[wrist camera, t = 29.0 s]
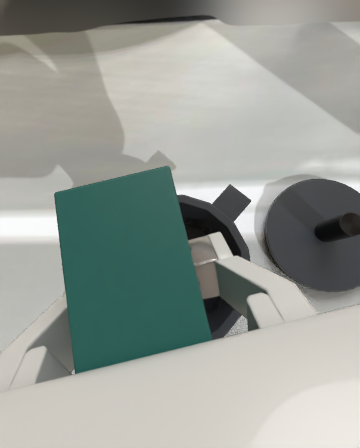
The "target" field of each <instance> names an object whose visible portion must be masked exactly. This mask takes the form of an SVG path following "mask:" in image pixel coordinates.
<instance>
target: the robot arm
mask: <svg viewBox="0 0 360 448" xmlns="http://www.w3.org/2000/svg"><path fill="white" fill-rule="evenodd" d="M188 242H189V247H190V251H191V255H192V259H193V263H194V267H195V271H196V275H197V279H198V283H199V287H200V291H201V295H202V299H207V298H212V297H216V296H220V297H221V298H222V299H224V300H225V301H226V302H227V303H228V304H230V305H231V306H232V307H233V308H234V309H236V310H237V311H238V312H239V313H240V314H242V315H243V316H244V317H245V318H246V319H247V320H248V332H243V333H239V334H235V335H231V336H227V337H223V338H219V339H215V340H211V341H207V342H203V343H199V344H195V345H191V346H187V347H183V348H179V349H175V350H171V351H167V352H163V353H158V354H154V355H150V356H146V357H142V358H138V359H134V360H130V361H126V362H122V363H118V364H114V365H110V366H106V367H101V368H97V369H93V370H89V371H85V372H81V373H77V374H73V375H72V374H71V372H72V371H73V369H74V361H73V352H72V344H71V335H70V326H69V318H68V309H67V300H66V292H65V291H64V294H63V296H62V298H60V299H57V300H56V301H55V302H54V303H53V304H52V305H51V306H50V307H49V308H48V309H47V310H46V311H45V312H44V313H42V314H41V315H40V316H39V317H38V318H37V319H36V320H35V321H34V322H33V323H32V324H31V325H30V326H29V327H28V328H26V329H25V330H24V331H23V332H22V333H21V334H20V335H19V336H18V337H17V338H16V339H15V340H14V341H13V342H12V343H11V344H9V345H8V346H7V347H6V348H5V349H4V350H3V351H2V352H1V353H0V448H360V304H357V305H353V306H349V307H345V308H341V309H337V310H333V311H329V312H325V313H321V314H318V313H317V311H316V310H315V309H314V307H313V306H312V305H311V304H310V302H309V301H308V300H307V298H306V297H305V296H304V294H303V293H302V292H301V291H300V289H299V288H298V287H297V285H296V284H295V283H293V282H291V281H289V280H287V279H285V278H283V277H281V276H279V275H277V274H275V273H272V272H270V271H268V270H266V269H264V268H262V267H260V266H258V265H256V264H254V263H252V262H250V261H248V260H245V259H243V258H241V257H239V256H233V254H232V253H231V251H230V249H229V247H228V245H227V243H226V241H225V239H224V238H223V236H222V234H221V232H216V233H213V234H209V235H207V236H203V237H199V238H195V239H191V240H188Z"/></svg>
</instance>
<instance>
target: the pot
mask: <svg viewBox="0 0 360 448" xmlns="http://www.w3.org/2000/svg"><path fill="white" fill-rule="evenodd" d="M177 198H178V202H179V206H180V210H181V214H182V218H183V222H184V226H185V230H186V234H187V238H188V240H191V239H195V238H199V237H203V236H207V235H209V234H213V233H216V232H221V234H222V236H223V238H224V239H225V241H226V243H227V245H228V247H229V249H230V251H231V253H232V254H233V256H239V257H241V258H243V259H245V260H248V261H250V255H249V249H248V247H247V245H246V243H245V241H244V239H243V238H242V236H241V234H240V232H239V231H238V229H237V227H236V225H235V223H233V222H234V221H235V220H236V218H237V217H238V216H239V215H240V214H241V213H242V211H243V210H244V209H245V208H246V207H247V206H248V204H249V203H250V202H251V200H250V199H249V198H247V197H246V196H245V195H243V194H242V193H241V192H240V191H238V190H237V189H236V188H234V187H233V186H232V185H231V184H230V185H229V186H228V187H227V188H226V189H225V190H224V191H223V192H222V194H221V195H220V196H219V197H218V198H217V199H216V200H215V201H214V203H213V204H211V203H208V202H205V201H202V200H199V199H195V198H192V197H189V196H186V195H177ZM203 303H204V307H205V311H206V315H207V319H208V323H209V327H210V331H211V335H212V339H213V340H215V339H219V338H223V337H225V335H226V334H227V333H228V332H229V330H230V329H231V328H232V327H233V325H234V324H235V323H236V322H237V320H238V319H239V318H240V317H241V315H242V314H240V313H239V312H238V311H237V310H236V309H234V308H233V307H232V306H231V305H230V304H228V303H227V302H226V301H225V300H224V299H222V298H221V297H220V296H216V297H212V298H207V299H203Z"/></svg>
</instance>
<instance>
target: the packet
mask: <svg viewBox="0 0 360 448" xmlns="http://www.w3.org/2000/svg"><path fill="white" fill-rule="evenodd" d="M54 197H55V205H56V214H57V223H58V231H59V240H60V248H61V257H62V266H63V274H64V283H65V292H66V300H67V309H68V318H69V326H70V335H71V344H72V352H73V361H74V369H75V374H77V373H81V372H85V371H89V370H93V369H97V368H101V367H106V366H110V365H114V364H118V363H122V362H126V361H130V360H134V359H138V358H142V357H146V356H150V355H154V354H158V353H163V352H167V351H171V350H175V349H179V348H183V347H187V346H191V345H195V344H199V343H203V342H207V341H211V340H213V339H212V335H211V331H210V327H209V323H208V319H207V315H206V311H205V307H204V303H203V299H202V295H201V291H200V287H199V283H198V279H197V275H196V271H195V267H194V263H193V259H192V255H191V251H190V247H189V242H188V238H187V234H186V230H185V226H184V222H183V218H182V214H181V210H180V206H179V202H178V198H177V194H176V190H175V186H174V182H173V178H172V174H171V170H170V167H169V166H164V167H160V168H156V169H152V170H148V171H143V172H139V173H135V174H131V175H127V176H122V177H118V178H114V179H110V180H106V181H101V182H97V183H93V184H89V185H85V186H80V187H76V188H72V189H68V190H64V191H59V192H56V193H55V194H54Z"/></svg>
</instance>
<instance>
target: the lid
mask: <svg viewBox="0 0 360 448" xmlns="http://www.w3.org/2000/svg"><path fill="white" fill-rule="evenodd" d="M265 234H266V241H267V245H268V248H269V250H270V253H271V255H272V257H273V259H274V260H275V262H276V263H277V264H278V266H279V267H280V268H281V269H282V270H283V271H284V272H285V273H286V274H287V275H288V276H289V277H290V278H292V279H293V280H295V281H296V282H298V283H300V284H302V285H303V286H306V287H309V288H311V289H315V290H319V291H326V292H340V291H347V290H350V289H353V288H356V287H358V286H360V193H359V192H357V191H356V190H354V189H352V188H351V187H349V186H347V185H345V184H342V183H339V182H336V181H332V180H326V179H311V180H305V181H301V182H298V183H296V184H294V185H292V186H290V187H288V188H287V189H286V190H284V191H283V192H282V193H281V194H280V195H279V196H278V197H277V198H276V199H275V200H274V202H273V203H272V205H271V207H270V209H269V211H268V214H267V218H266V223H265Z"/></svg>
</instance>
